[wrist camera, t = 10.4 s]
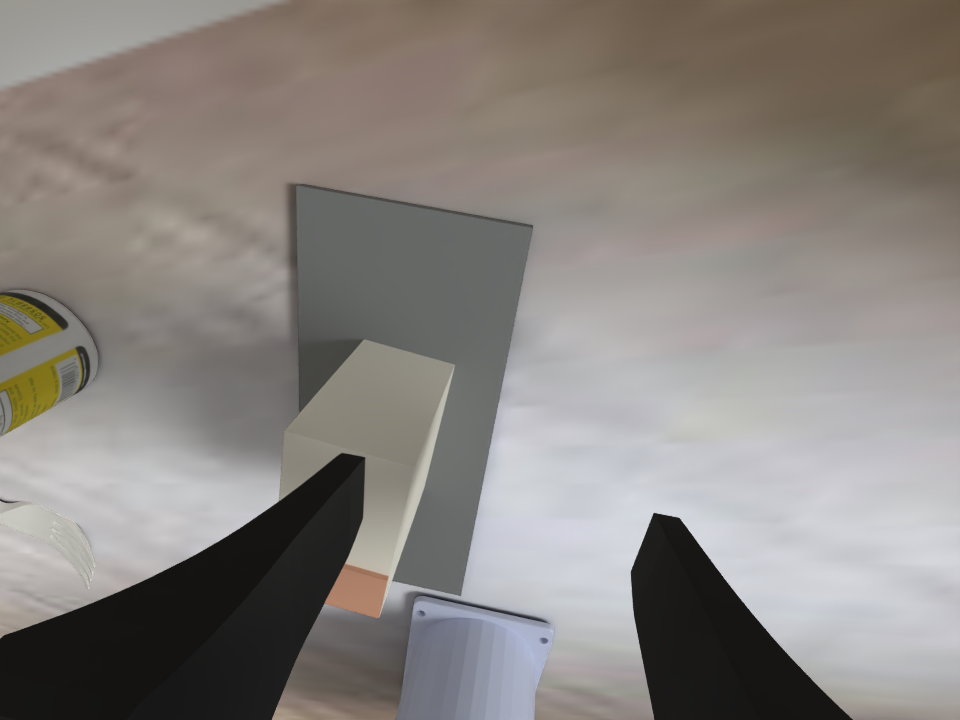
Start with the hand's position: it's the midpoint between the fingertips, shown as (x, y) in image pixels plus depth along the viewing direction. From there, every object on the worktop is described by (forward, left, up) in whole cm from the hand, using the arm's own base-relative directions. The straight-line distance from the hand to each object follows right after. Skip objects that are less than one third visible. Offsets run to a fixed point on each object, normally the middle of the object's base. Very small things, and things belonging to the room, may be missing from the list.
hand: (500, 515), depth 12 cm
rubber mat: (-5, +5, -10) cm, 12 cm away
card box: (-4, +5, -9) cm, 11 cm away
